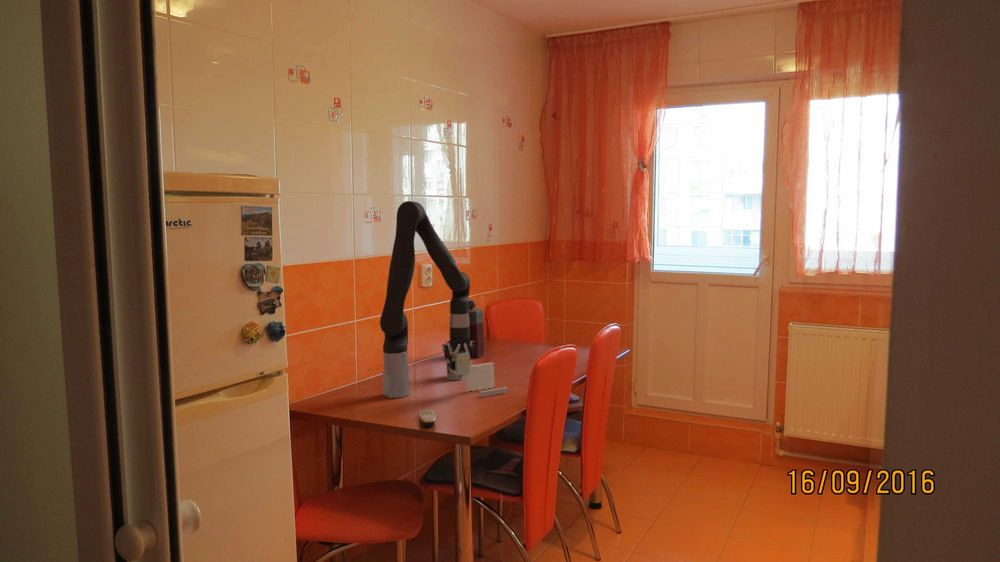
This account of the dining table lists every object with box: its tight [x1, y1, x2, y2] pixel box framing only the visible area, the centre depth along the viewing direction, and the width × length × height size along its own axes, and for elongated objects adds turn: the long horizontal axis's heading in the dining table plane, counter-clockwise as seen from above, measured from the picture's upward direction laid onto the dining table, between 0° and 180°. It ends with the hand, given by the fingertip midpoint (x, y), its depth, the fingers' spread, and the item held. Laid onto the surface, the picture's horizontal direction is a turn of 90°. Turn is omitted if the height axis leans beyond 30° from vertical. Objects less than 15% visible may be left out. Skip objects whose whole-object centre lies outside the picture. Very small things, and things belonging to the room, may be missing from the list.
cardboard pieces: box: [465, 362, 509, 398], centre depth 270 cm, size 12×11×10 cm
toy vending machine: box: [468, 299, 485, 359], centre depth 339 cm, size 9×11×28 cm
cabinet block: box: [450, 351, 469, 375], centre depth 266 cm, size 5×7×8 cm
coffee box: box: [445, 340, 466, 381], centre depth 297 cm, size 9×6×16 cm
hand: (460, 369), depth 266 cm, fingers closed on cabinet block, 5 cm apart
